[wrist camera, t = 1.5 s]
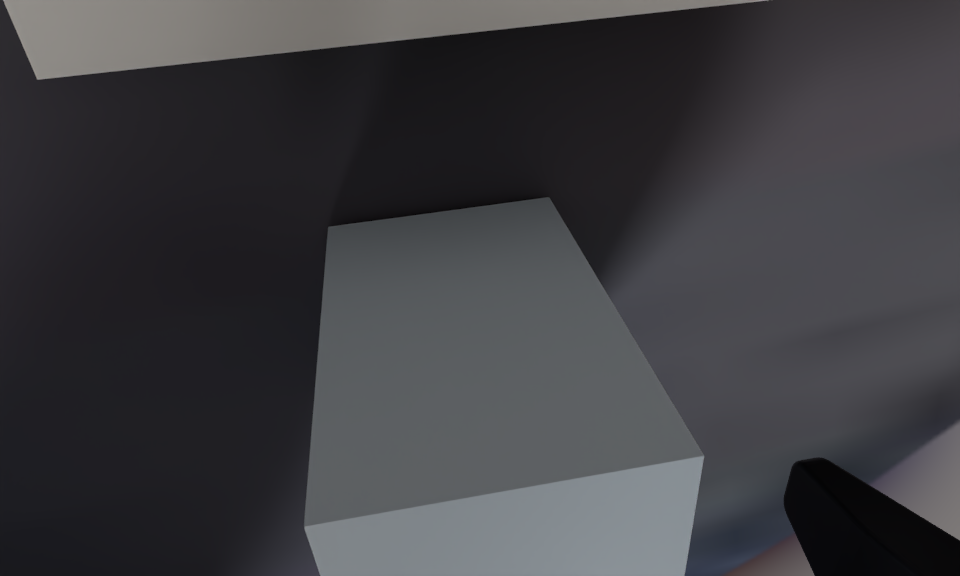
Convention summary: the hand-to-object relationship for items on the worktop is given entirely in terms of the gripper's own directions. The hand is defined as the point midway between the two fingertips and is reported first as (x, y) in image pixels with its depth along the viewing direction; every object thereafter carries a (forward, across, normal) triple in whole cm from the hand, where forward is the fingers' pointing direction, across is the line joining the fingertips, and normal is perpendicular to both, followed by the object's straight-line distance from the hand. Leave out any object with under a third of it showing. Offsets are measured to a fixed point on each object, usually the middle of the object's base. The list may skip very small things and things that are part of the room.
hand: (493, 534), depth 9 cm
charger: (+6, 0, 0) cm, 6 cm away
